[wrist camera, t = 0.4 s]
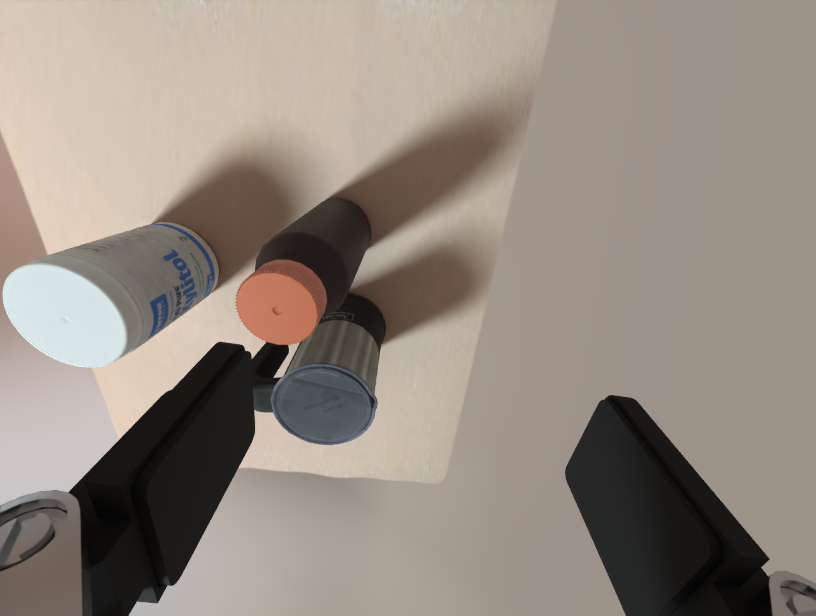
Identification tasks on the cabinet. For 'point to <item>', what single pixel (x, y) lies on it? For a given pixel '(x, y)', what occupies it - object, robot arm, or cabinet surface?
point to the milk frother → (325, 376)
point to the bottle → (304, 272)
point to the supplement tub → (110, 292)
